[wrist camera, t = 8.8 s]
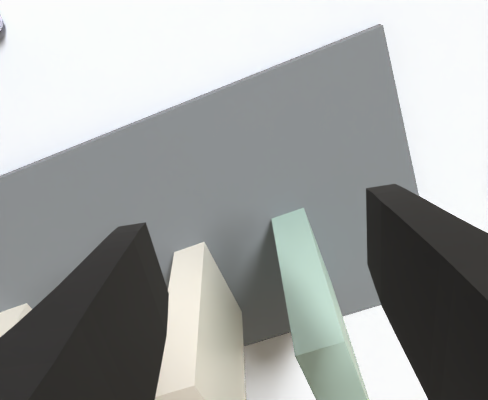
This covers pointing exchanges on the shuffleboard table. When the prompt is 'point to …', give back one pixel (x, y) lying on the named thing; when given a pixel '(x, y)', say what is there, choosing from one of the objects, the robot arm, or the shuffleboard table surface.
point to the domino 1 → (201, 333)
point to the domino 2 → (315, 313)
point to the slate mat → (225, 182)
